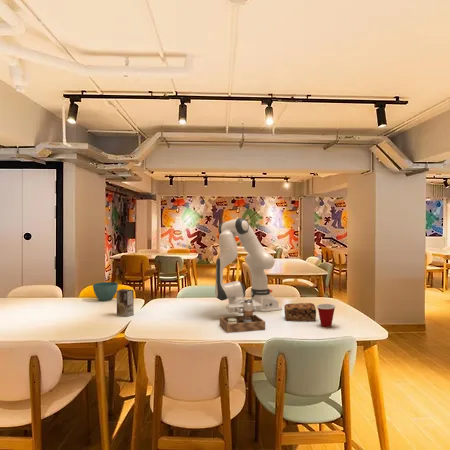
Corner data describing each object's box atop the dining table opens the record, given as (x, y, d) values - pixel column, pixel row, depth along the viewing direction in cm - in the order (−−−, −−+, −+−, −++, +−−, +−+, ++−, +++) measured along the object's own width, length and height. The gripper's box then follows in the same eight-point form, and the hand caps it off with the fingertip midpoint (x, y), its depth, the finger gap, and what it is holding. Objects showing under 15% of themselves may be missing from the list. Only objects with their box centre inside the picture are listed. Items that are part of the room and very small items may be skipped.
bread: (313, 317, 239) (314, 301, 239) (316, 322, 229) (316, 305, 229) (284, 316, 241) (284, 301, 241) (285, 321, 230) (285, 304, 230)
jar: (235, 327, 216) (235, 317, 216) (237, 330, 211) (238, 320, 211) (226, 328, 215) (226, 318, 215) (229, 330, 210) (229, 320, 210)
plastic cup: (312, 324, 223) (312, 304, 223) (327, 322, 227) (327, 302, 227) (324, 329, 213) (324, 308, 213) (339, 327, 217) (339, 306, 217)
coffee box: (134, 314, 244) (134, 289, 244) (127, 317, 239) (127, 291, 238) (122, 313, 248) (122, 288, 248) (116, 315, 242) (116, 290, 242)
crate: (255, 322, 227) (255, 314, 227) (265, 329, 212) (265, 321, 212) (219, 324, 221) (219, 317, 221) (227, 332, 206) (227, 324, 206)
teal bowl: (113, 302, 280) (113, 286, 280) (89, 302, 280) (89, 286, 280) (120, 297, 298) (120, 282, 298) (97, 297, 299) (97, 282, 298)
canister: (251, 324, 222) (251, 299, 222) (254, 327, 217) (254, 301, 217) (241, 325, 221) (242, 299, 220) (245, 327, 215) (245, 301, 215)
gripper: (224, 301, 228) (231, 306, 215) (256, 299, 234) (264, 304, 220) (224, 311, 228) (231, 317, 215) (256, 309, 234) (264, 315, 220)
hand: (248, 310), depth 218 cm, fingers open, 7 cm apart
